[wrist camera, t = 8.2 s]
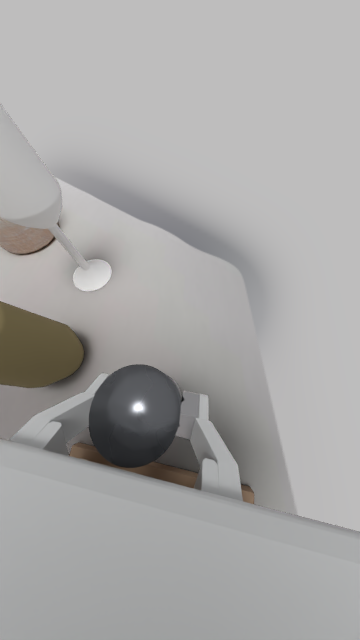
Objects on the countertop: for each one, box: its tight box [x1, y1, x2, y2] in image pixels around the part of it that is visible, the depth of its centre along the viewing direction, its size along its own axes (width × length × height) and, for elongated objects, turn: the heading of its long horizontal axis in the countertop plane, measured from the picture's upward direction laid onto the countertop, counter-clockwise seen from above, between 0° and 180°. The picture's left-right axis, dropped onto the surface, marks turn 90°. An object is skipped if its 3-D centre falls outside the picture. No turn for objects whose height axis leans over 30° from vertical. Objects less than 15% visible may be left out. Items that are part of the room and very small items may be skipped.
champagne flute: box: [0, 104, 112, 291], centre depth 18 cm, size 7×7×24 cm
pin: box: [89, 365, 181, 468], centre depth 11 cm, size 4×4×9 cm
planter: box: [0, 217, 58, 254], centre depth 29 cm, size 11×11×10 cm
